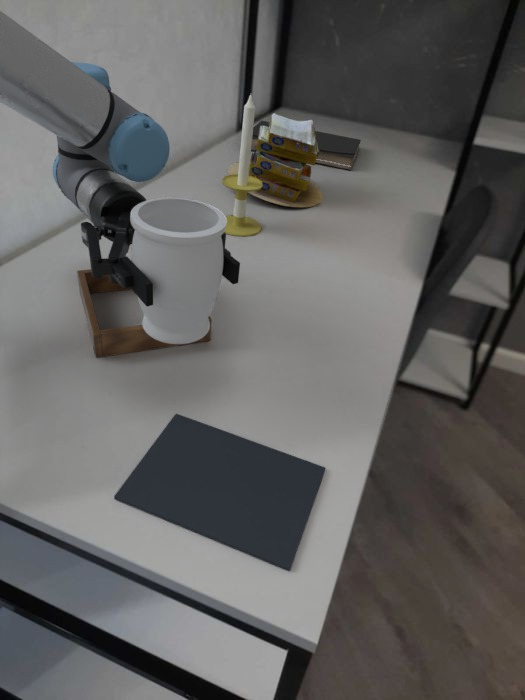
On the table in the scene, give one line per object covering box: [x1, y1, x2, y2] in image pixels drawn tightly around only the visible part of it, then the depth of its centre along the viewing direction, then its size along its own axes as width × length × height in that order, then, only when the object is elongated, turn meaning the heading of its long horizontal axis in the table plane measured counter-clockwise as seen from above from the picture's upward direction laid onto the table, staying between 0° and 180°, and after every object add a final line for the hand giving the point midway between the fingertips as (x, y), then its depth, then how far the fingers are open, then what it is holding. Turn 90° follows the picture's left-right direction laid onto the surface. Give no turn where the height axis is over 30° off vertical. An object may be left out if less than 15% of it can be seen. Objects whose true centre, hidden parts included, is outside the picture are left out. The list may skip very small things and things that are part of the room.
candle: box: [221, 94, 263, 238], centre depth 105 cm, size 10×10×27 cm
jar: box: [130, 197, 227, 345], centre depth 62 cm, size 11×10×15 cm
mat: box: [113, 413, 326, 572], centre depth 59 cm, size 20×14×1 cm
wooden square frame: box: [76, 268, 213, 358], centre depth 82 cm, size 17×18×4 cm
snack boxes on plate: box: [227, 112, 324, 208], centre depth 128 cm, size 25×25×17 cm
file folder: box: [251, 120, 362, 171], centre depth 162 cm, size 33×4×24 cm
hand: (195, 284), depth 58 cm, fingers closed on jar, 10 cm apart
